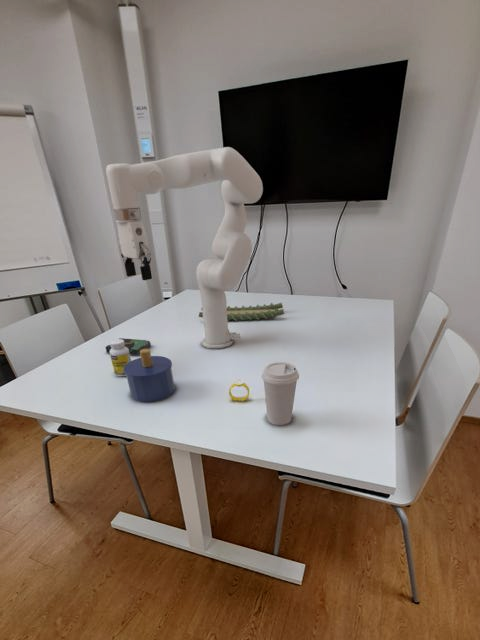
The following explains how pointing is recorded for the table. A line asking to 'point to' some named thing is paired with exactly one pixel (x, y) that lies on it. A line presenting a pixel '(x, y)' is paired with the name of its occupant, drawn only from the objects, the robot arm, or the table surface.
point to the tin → (151, 387)
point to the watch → (238, 383)
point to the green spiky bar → (253, 312)
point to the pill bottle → (119, 356)
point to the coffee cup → (280, 391)
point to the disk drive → (133, 346)
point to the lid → (147, 365)
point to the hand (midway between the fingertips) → (139, 277)
